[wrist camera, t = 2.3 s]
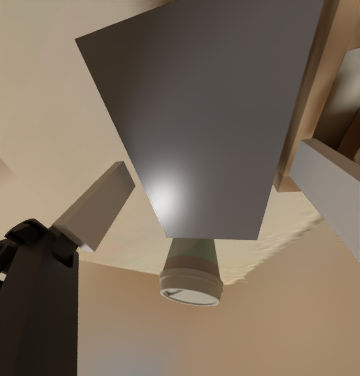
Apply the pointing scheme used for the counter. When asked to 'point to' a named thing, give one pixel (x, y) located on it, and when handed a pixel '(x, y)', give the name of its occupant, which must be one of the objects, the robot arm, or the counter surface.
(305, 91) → the brown long open box
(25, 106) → the counter surface
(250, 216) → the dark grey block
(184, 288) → the coffee cup
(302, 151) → the robot arm
